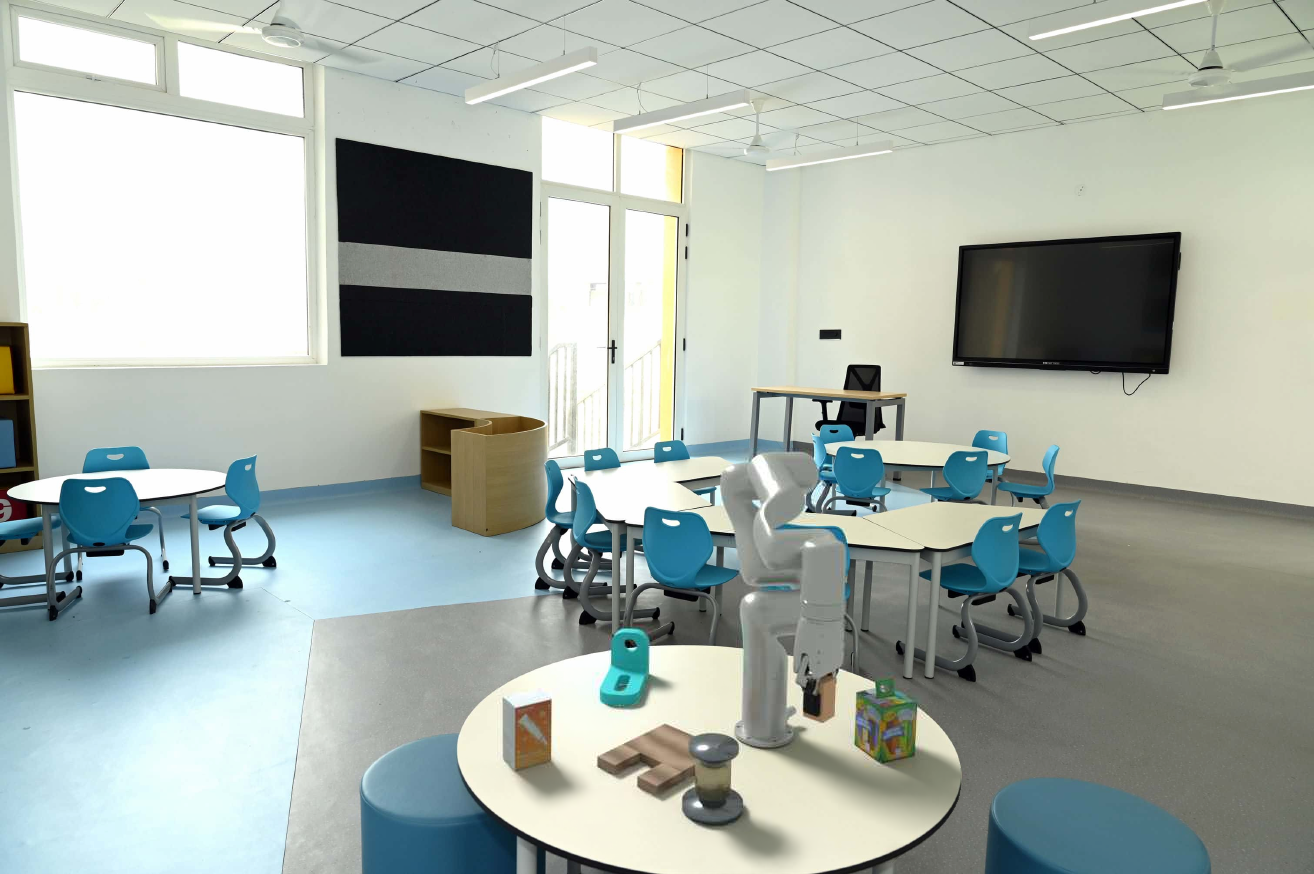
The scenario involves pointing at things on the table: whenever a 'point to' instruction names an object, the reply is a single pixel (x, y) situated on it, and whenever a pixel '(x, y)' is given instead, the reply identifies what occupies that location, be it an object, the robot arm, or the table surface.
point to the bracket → (626, 669)
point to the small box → (527, 728)
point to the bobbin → (713, 781)
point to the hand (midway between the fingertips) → (818, 708)
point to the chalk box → (885, 722)
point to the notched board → (654, 758)
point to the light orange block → (825, 699)
